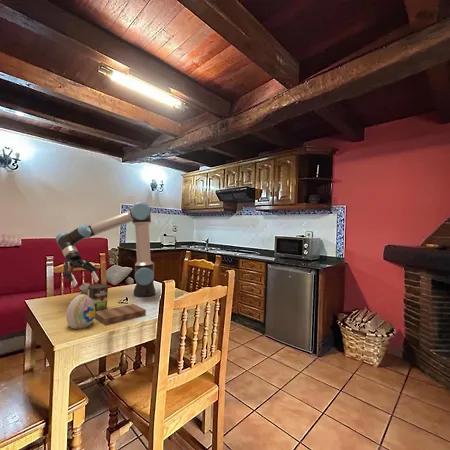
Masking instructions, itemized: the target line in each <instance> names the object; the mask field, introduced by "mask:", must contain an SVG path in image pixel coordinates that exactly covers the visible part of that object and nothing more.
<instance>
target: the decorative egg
mask: <svg viewBox="0 0 450 450" xmlns="http://www.w3.org/2000/svg"><path fill="white" fill-rule="evenodd" d="M66 309H67V310H66V314H65V316H66V317H65V319H66V323H67V325H68V326H69V327H70V328H71V329H74V330H75V329H76V330H79V329H80V330H81V329H85V328H87V327H90V325H92V323H93V321H94V320H95V318H94V317H95V306H94V303H93V301H92V300H91V298H90V297H89V296H88V294H85V293H80V294H79V295H76V296H75V297H74V298H73V299H72V300H71V302H69V305H68V307H67V308H66Z"/></svg>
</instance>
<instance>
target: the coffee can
mask: <svg viewBox="0 0 450 450" xmlns="http://www.w3.org/2000/svg"><path fill="white" fill-rule="evenodd" d="M108 293H109V285H108V284H105V283H104V284H103V283H96V284H90V286H88V293H87V296H89V297H90V298H91V300H92V301H93V303H94V306H95V312H96V311H101V310H106V309H108V295H109V294H108Z"/></svg>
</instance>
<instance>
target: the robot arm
mask: <svg viewBox="0 0 450 450" xmlns="http://www.w3.org/2000/svg"><path fill="white" fill-rule="evenodd" d="M151 212H152V211H151V207H150V205H149V204H148V203H146V202H144V201H138V202H134V204H133V205H132V207H130V208H129V209H128V210H127V211H125V212H123V213H120V214H117V215H115V216H114V215H113V216H111V217H109V218H106V219H104V220H101V221H98V222H95V223H92V224H89V225H87V224H82V225H79V226H78V227H76V228H75V229H74V230H72V231H70V232H62V233H58V234H57V235H56V236H55V241H56V244H57V245H58V247H59V248H60V251H61V253H62V255H63V256H64V258H65V261H64V262H63V275H62V277H64V278H65V277H66V279H68V280H69V282H71V284H72V286H73V287H74V288H76V287H77V285H78V282H77V280H76V278H75V275H74V274H72V273H73V270H74V269H80V268H81V269H84V270H85V271H87V272H89V273H90V275H91V277H92V279H93V280H94V282H95V283H98V282H99V277H98V274H97V271H98V268H97V267H96V266H94V265H93V264H92V263H91V262H89V260H88V259H87V258H85V259H82V256H81V254H80V252H79V250H78V249H77V247H76V245H75V244H78V243H79V242H81V241H82V240H85V239H90V238H92V237H95V236H97V235H99V234H100V235H101V234H102V233H105V232H107V231H110V230H112V229H113V230H114V229H115V228H119V227H120V226H124V225H126V224H130V223H131V222H132V224H133V225H134V226H135V227H134V230H135V231H134V232H135V248H136V249H135V250H136V262H135V264H134V271H135V272H134V280H135V282H136V285H135V287H134V289H133V293H132V295H133V296H134V297H137V298H138V297H139V298H147V297H154V296H156V288H155V284H154V280H155V279H154V278H155V262H154V261H152V260H151V259H152V258H151V245H150V244H151V243H150V242H151V240H150V224H151V223H152V217H151V216H152V215H151ZM69 266H70V268H69Z"/></svg>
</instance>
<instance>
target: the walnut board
mask: <svg viewBox="0 0 450 450" xmlns="http://www.w3.org/2000/svg"><path fill="white" fill-rule="evenodd" d="M146 313H147V312H146V309H145V308H143V307H140V306H138V305H137V304H134V303H131V304H125V305H121V306H117V307H111V308H107V309H106V310H101V311H96V312H95V317H94V320H97V321H98V322H99V323H100V324H102V325H104V326H107V325H110V324H111V325H112V324H115V323H116V324H117V323H119V322H124V321H127V320H132V319H136V318H140V317H145V316H146Z"/></svg>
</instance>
